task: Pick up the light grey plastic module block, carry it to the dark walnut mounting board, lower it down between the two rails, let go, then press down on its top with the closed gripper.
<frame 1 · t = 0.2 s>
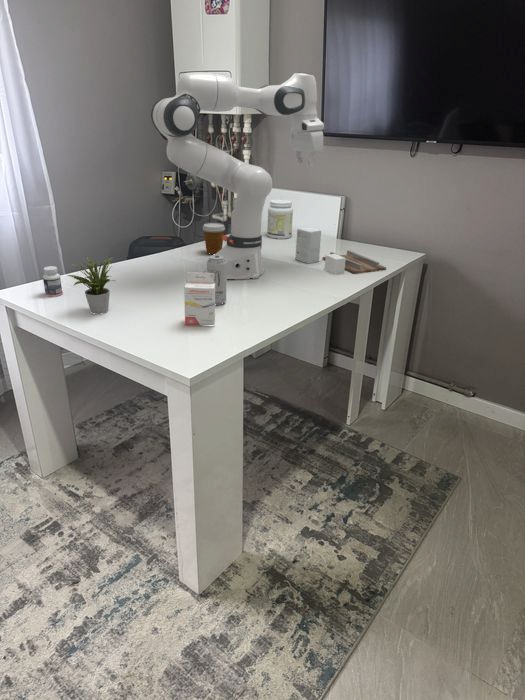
hand: (305, 164, 187), 39 cm above the table, tool pointing down, fingers open, 8 cm apart
disposable coffee cup: (214, 253, 216), on the table
supplement tub: (279, 236, 248), on the table
small box: (306, 261, 211), on the table
energy drink can: (216, 303, 162), on the table
pill bottle: (54, 294, 164), on the table
house plant: (100, 309, 154), on the table
rail mount: (353, 264, 207), on the table
module block: (334, 271, 198), on the table
ink cartridge box: (200, 323, 146), on the table
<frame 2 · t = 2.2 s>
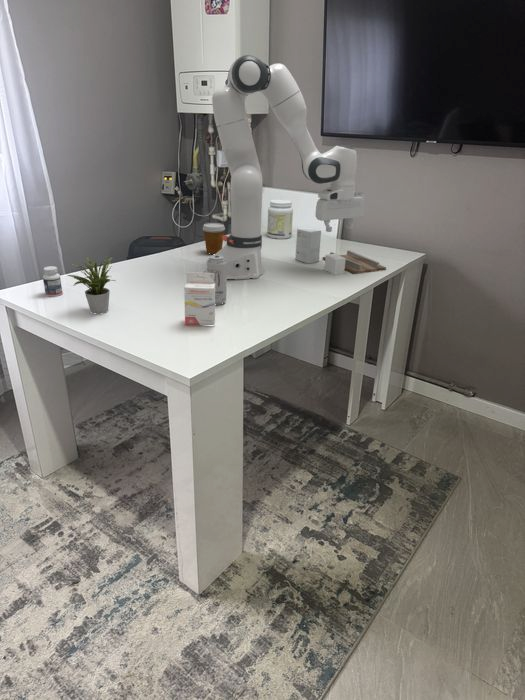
hand: (339, 230, 191), 16 cm above the table, tool pointing down, fingers open, 8 cm apart
nothing on the table moved.
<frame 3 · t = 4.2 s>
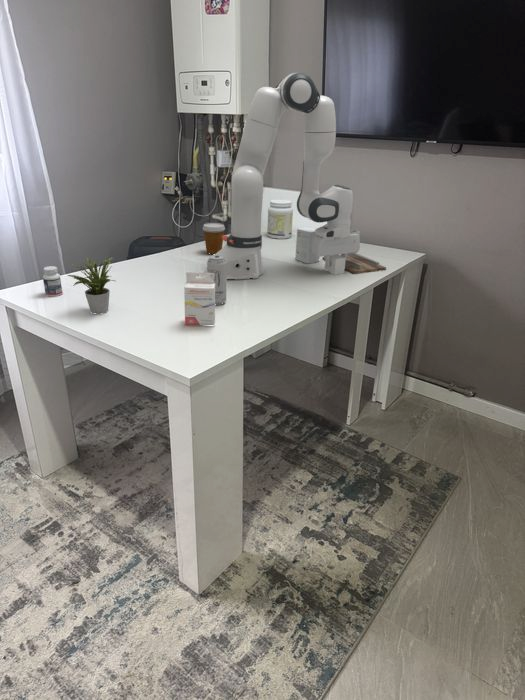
hand: (334, 265, 197), 2 cm above the table, tool pointing down, fingers closed on module block, 4 cm apart
module block: (334, 271, 198), on the table, touching gripper
everything else where it was.
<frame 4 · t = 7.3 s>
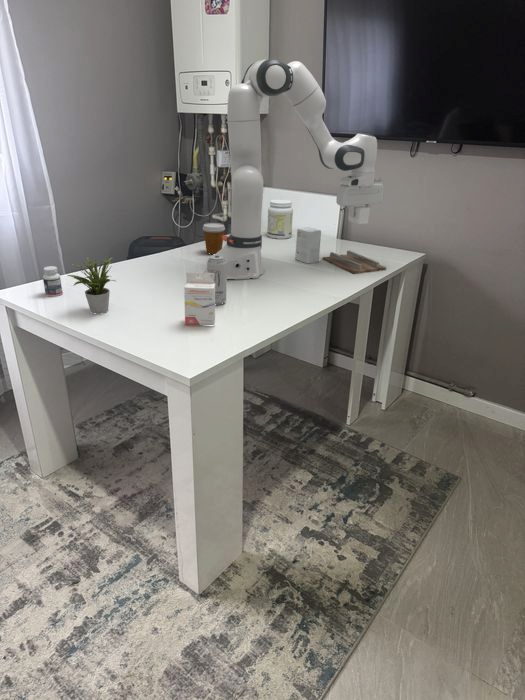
hand: (358, 216, 198), 20 cm above the table, tool pointing down, fingers closed on module block, 4 cm apart
module block: (358, 222, 199), point 17 cm above the table, touching gripper
everything else where it was.
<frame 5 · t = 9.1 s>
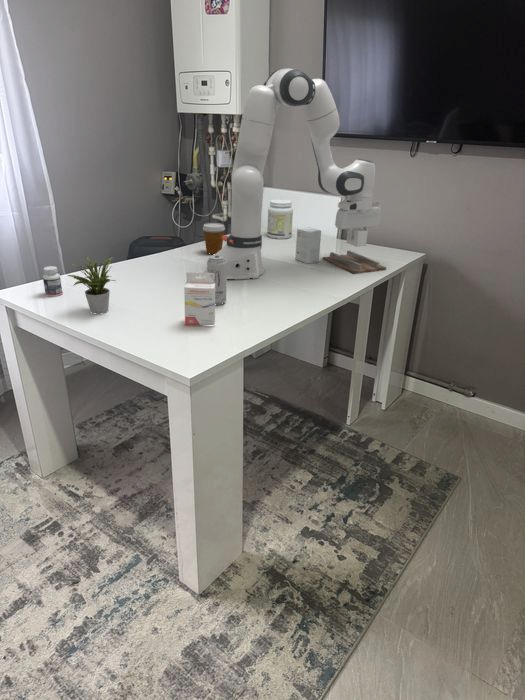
hand: (356, 238, 203), 11 cm above the table, tool pointing down, fingers closed on module block, 4 cm apart
module block: (356, 244, 204), point 8 cm above the table, touching gripper
everything else where it was.
when the fingers open (5 cm above the table, at t = 10.6 s): module block drops 2 cm, resting on rail mount.
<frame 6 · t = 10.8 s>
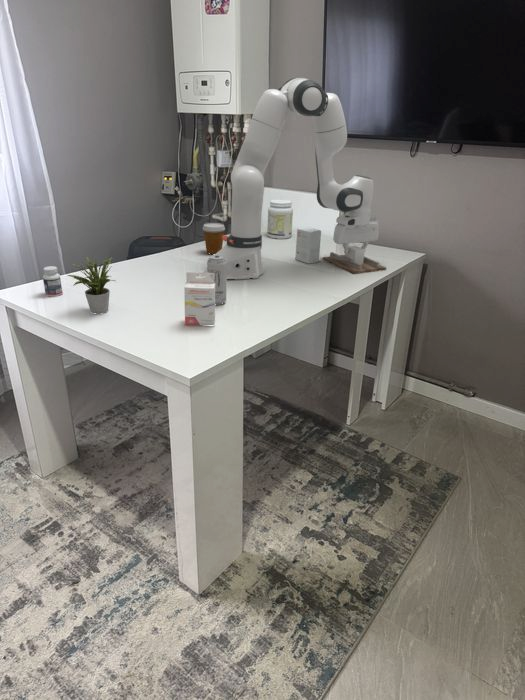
hand: (354, 252, 205), 5 cm above the table, tool pointing down, fingers open, 6 cm apart
module block: (353, 262, 207), point 1 cm above the table, touching rail mount
everything else where it was.
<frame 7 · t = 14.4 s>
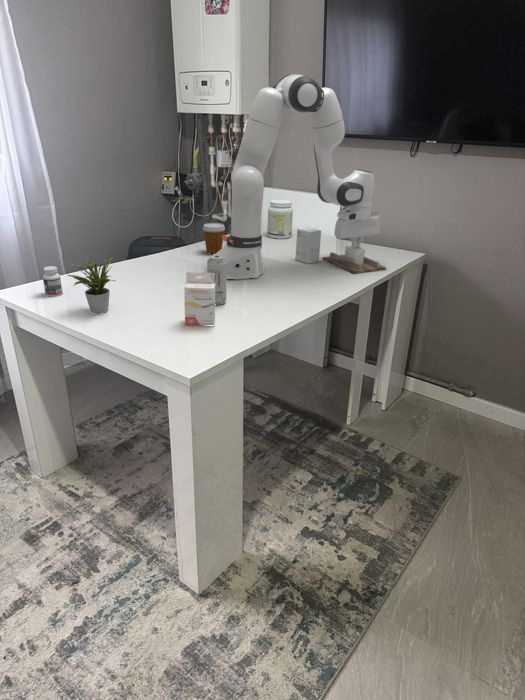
hand: (355, 247, 204), 7 cm above the table, tool pointing down, fingers closed, pressing on module block
module block: (353, 262, 207), point 1 cm above the table, touching gripper, rail mount
everything else where it was.
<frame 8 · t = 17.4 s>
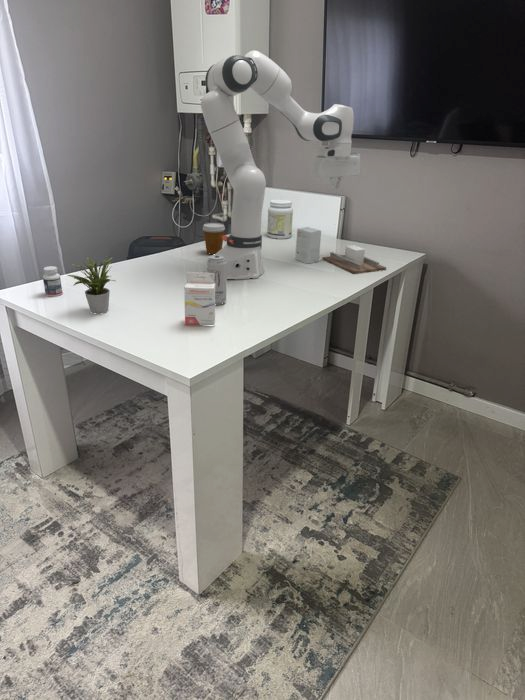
hand: (335, 188, 199), 29 cm above the table, tool pointing down, fingers closed
module block: (353, 262, 207), point 1 cm above the table, touching rail mount
everything else where it was.
at the end: module block inside the target area on the rail mount (0.1 cm from its centre), point 1.0 cm above the rail mount's base; module block tilted 0°; the gripper is holding nothing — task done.
